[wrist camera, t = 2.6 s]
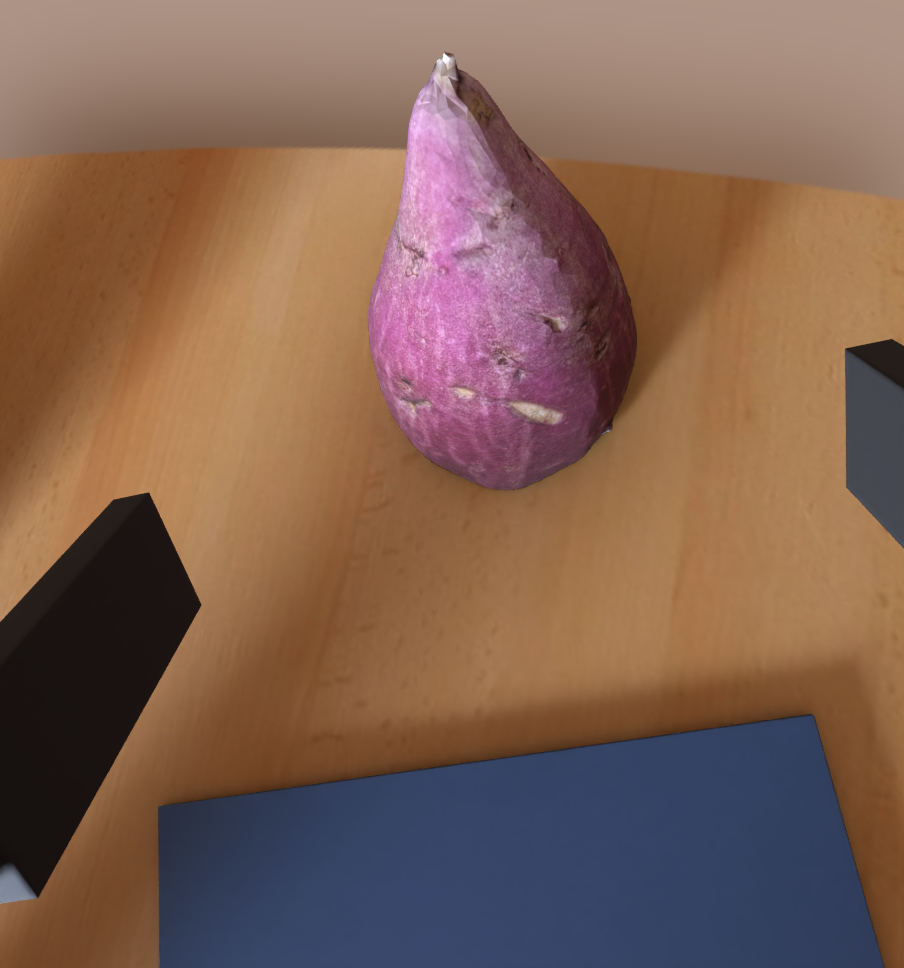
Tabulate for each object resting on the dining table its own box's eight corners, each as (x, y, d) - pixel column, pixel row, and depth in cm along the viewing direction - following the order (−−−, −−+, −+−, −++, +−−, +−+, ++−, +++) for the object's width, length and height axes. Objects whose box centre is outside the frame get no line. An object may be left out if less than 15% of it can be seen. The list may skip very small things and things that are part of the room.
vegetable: (429, 315, 37) (289, -7, 25) (648, 297, 34) (606, -86, 22) (381, 500, 32) (174, 205, 20) (634, 502, 28) (570, 147, 16)
